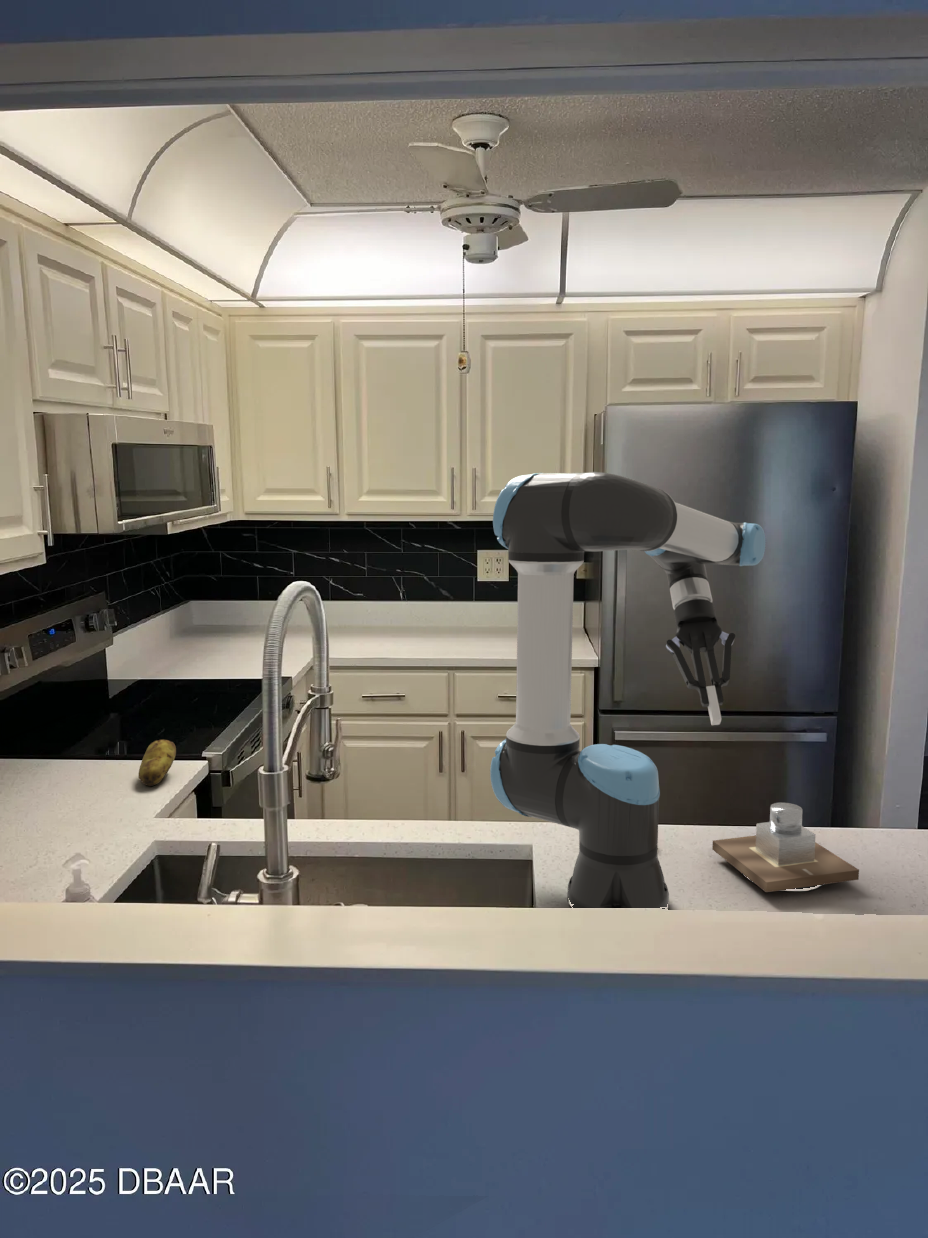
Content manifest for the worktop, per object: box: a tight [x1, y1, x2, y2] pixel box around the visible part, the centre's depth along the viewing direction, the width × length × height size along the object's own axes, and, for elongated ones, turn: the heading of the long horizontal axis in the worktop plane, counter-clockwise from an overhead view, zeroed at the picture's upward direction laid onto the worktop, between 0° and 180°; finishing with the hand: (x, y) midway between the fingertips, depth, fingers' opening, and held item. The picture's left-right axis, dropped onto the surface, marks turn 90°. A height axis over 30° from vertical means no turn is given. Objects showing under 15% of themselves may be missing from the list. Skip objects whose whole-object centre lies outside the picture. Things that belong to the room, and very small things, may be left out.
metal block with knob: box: [755, 802, 816, 866], centre depth 138 cm, size 6×6×8 cm
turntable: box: [712, 834, 860, 893], centre depth 139 cm, size 16×16×2 cm
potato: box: [138, 739, 177, 787], centre depth 190 cm, size 8×13×8 cm, turn 165°
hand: (716, 722), depth 154 cm, fingers closed
